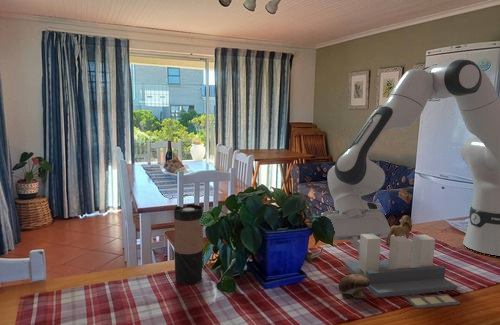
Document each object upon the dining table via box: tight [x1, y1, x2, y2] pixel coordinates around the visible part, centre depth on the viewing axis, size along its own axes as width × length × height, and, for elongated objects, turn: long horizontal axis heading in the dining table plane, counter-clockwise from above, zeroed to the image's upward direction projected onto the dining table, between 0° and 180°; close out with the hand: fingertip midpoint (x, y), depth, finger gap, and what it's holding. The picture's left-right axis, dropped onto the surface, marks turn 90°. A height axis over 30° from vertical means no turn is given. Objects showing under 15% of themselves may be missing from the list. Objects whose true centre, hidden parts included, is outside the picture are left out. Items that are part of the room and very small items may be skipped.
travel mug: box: [173, 204, 204, 286], centre depth 93 cm, size 8×8×20 cm
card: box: [404, 293, 461, 310], centre depth 85 cm, size 12×4×1 cm, turn 101°
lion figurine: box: [385, 215, 413, 247], centre depth 125 cm, size 15×5×9 cm, turn 134°
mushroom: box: [337, 273, 370, 299], centre depth 87 cm, size 8×8×6 cm
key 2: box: [410, 234, 436, 268], centre depth 98 cm, size 4×4×10 cm
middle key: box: [388, 235, 413, 269], centre depth 96 cm, size 4×4×10 cm
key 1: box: [358, 234, 382, 273], centre depth 98 cm, size 4×4×10 cm
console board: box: [344, 259, 458, 298], centre depth 97 cm, size 23×18×4 cm
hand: (364, 252), depth 100 cm, fingers closed, pressing on key 1
